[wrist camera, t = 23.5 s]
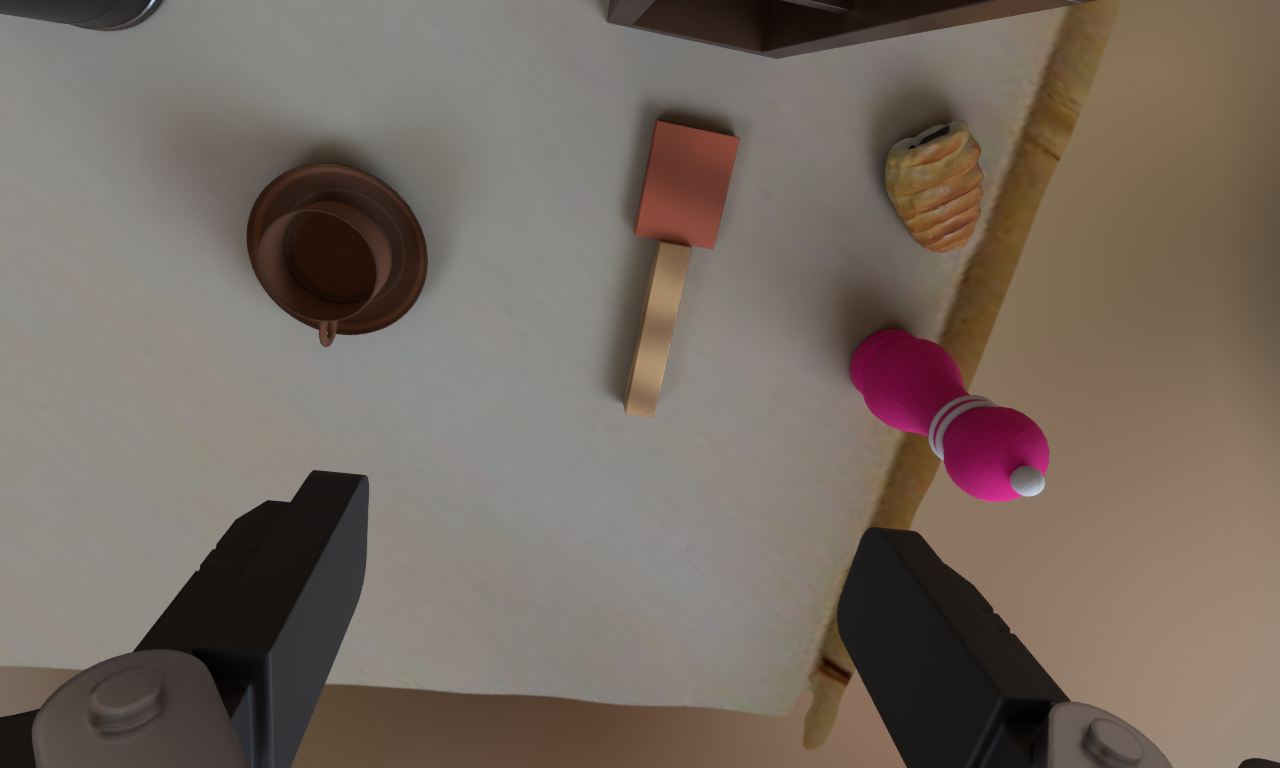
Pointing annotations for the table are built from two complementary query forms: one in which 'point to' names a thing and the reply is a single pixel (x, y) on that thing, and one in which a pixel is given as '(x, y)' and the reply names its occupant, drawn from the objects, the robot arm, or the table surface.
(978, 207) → the pastry
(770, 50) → the tall wooden box
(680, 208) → the spatula
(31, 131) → the table surface
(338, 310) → the cup and saucer
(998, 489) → the pepper mill
